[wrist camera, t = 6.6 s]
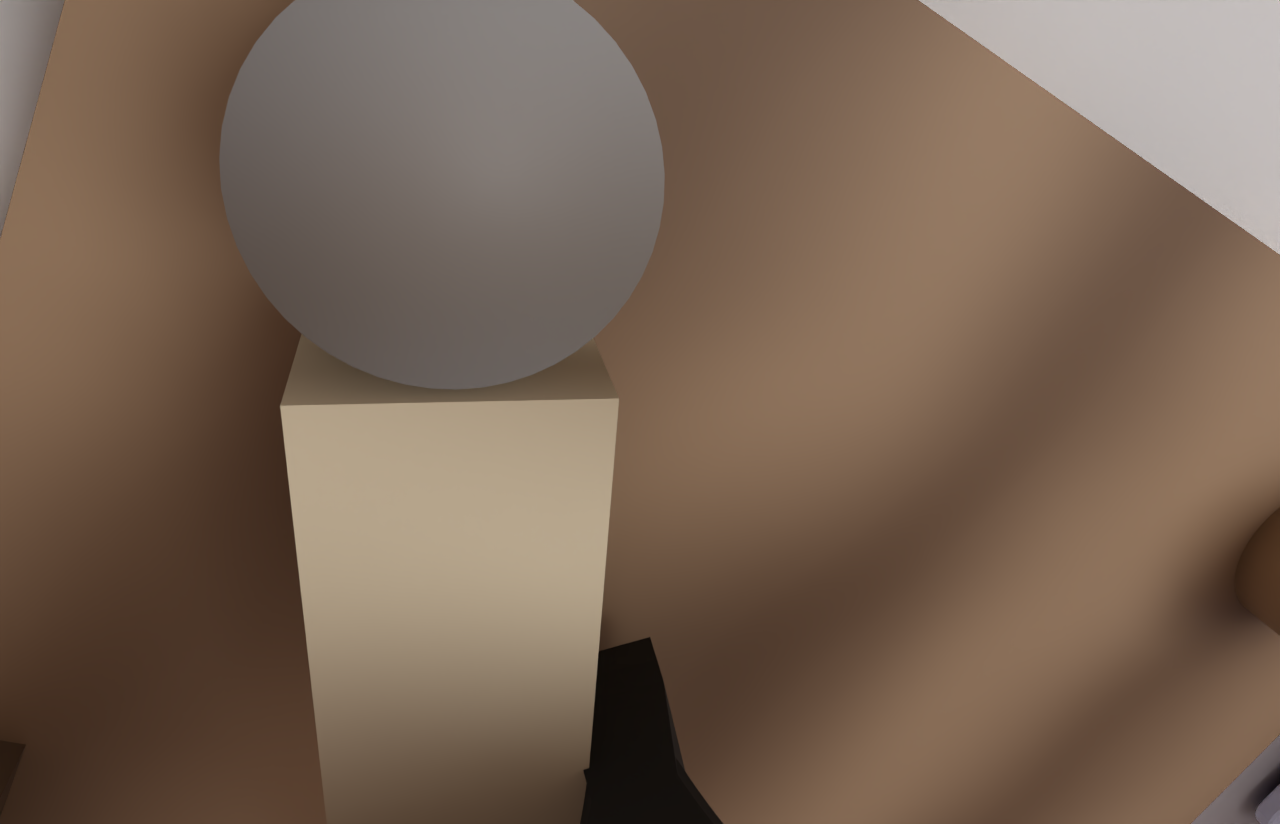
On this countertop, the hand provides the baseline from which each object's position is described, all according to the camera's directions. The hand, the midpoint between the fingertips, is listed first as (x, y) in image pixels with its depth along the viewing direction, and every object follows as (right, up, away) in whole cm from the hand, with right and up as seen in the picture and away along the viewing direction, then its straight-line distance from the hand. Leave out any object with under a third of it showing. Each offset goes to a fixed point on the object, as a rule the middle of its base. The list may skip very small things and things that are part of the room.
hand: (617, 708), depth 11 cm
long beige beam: (-2, +2, -1) cm, 3 cm away
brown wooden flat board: (+1, -1, +3) cm, 4 cm away
